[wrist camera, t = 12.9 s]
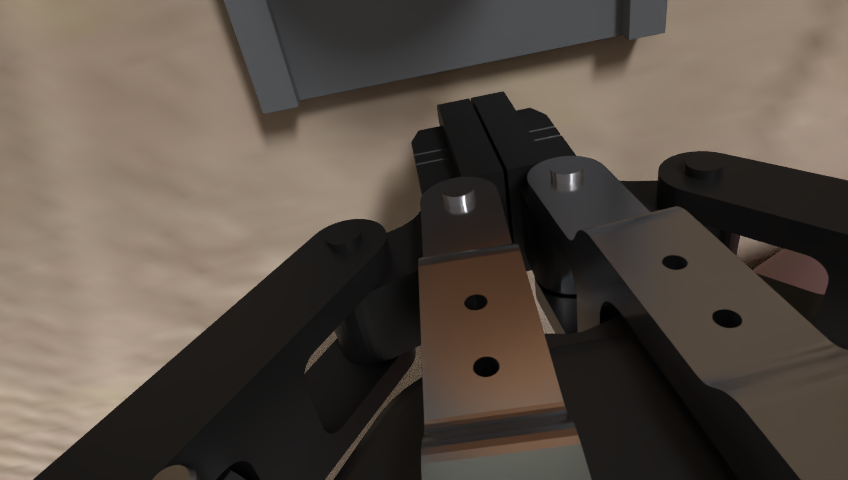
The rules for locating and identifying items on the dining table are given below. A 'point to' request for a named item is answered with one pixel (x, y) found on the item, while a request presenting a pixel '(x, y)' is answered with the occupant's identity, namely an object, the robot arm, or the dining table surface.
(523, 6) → the lane
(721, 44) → the dining table surface
